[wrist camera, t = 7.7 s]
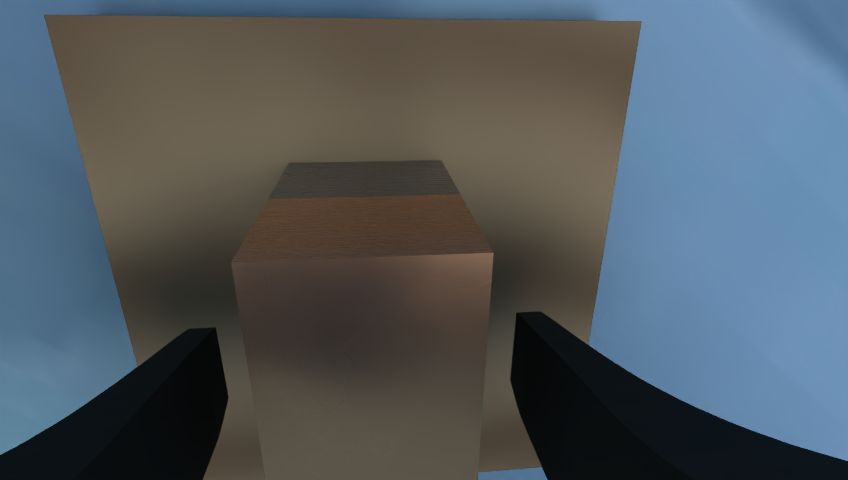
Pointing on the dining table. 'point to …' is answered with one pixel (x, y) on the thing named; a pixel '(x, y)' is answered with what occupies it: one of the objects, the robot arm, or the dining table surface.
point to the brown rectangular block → (366, 323)
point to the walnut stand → (345, 142)
